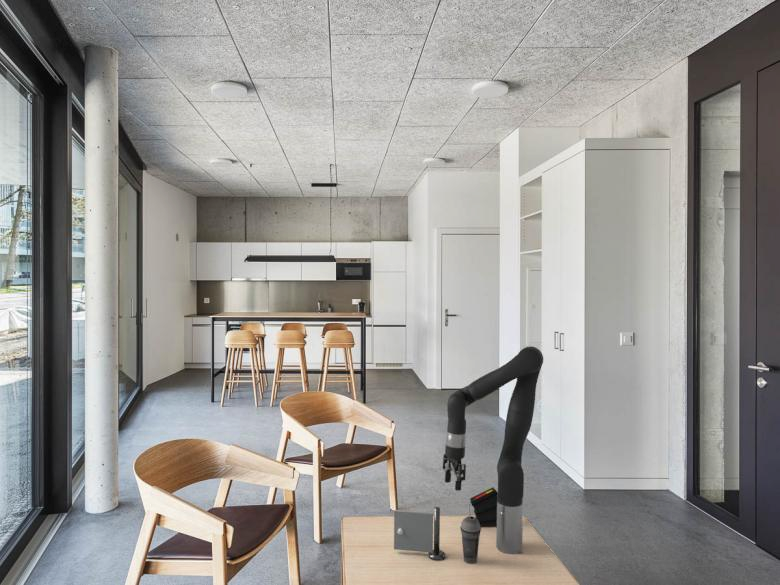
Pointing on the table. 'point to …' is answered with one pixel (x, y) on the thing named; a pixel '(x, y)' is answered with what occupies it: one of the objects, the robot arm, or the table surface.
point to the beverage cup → (470, 538)
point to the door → (413, 531)
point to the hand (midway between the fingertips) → (452, 486)
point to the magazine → (486, 507)
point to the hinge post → (436, 538)
